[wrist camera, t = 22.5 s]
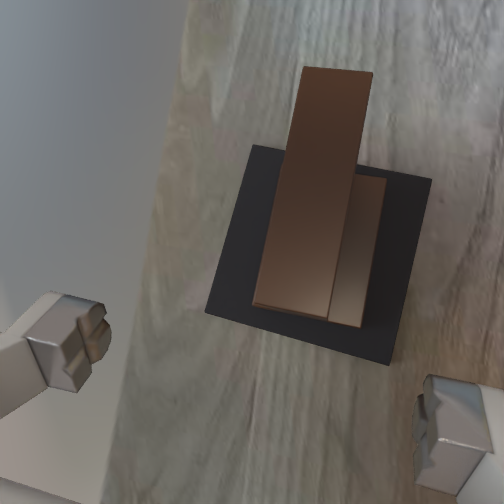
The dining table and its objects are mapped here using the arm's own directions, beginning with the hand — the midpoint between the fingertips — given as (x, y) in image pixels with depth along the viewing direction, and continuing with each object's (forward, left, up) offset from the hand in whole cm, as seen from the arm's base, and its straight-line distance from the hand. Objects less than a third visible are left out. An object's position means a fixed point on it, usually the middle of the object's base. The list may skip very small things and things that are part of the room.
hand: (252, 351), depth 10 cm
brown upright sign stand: (+5, 0, -10) cm, 11 cm away
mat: (+5, 0, -10) cm, 11 cm away
